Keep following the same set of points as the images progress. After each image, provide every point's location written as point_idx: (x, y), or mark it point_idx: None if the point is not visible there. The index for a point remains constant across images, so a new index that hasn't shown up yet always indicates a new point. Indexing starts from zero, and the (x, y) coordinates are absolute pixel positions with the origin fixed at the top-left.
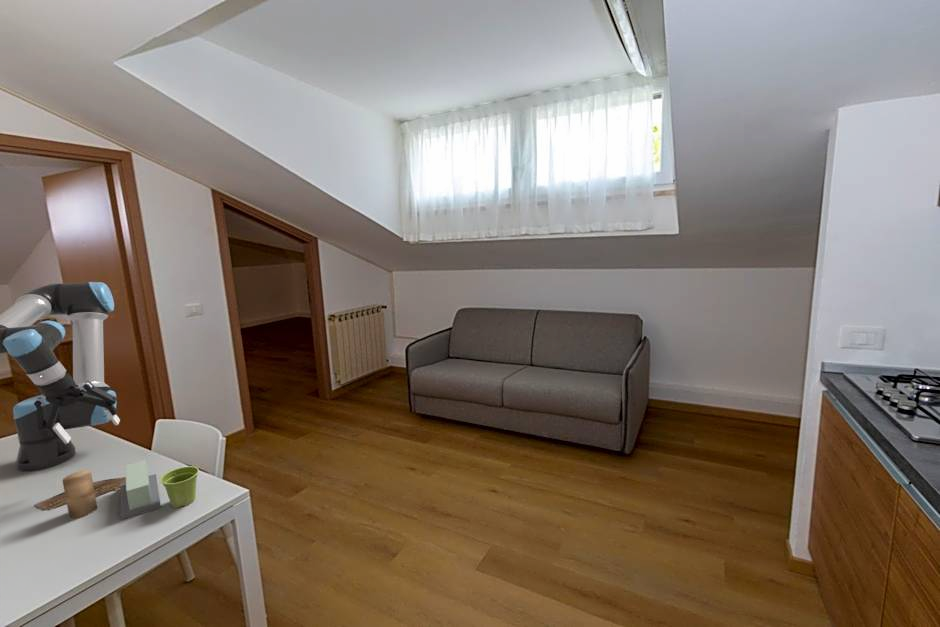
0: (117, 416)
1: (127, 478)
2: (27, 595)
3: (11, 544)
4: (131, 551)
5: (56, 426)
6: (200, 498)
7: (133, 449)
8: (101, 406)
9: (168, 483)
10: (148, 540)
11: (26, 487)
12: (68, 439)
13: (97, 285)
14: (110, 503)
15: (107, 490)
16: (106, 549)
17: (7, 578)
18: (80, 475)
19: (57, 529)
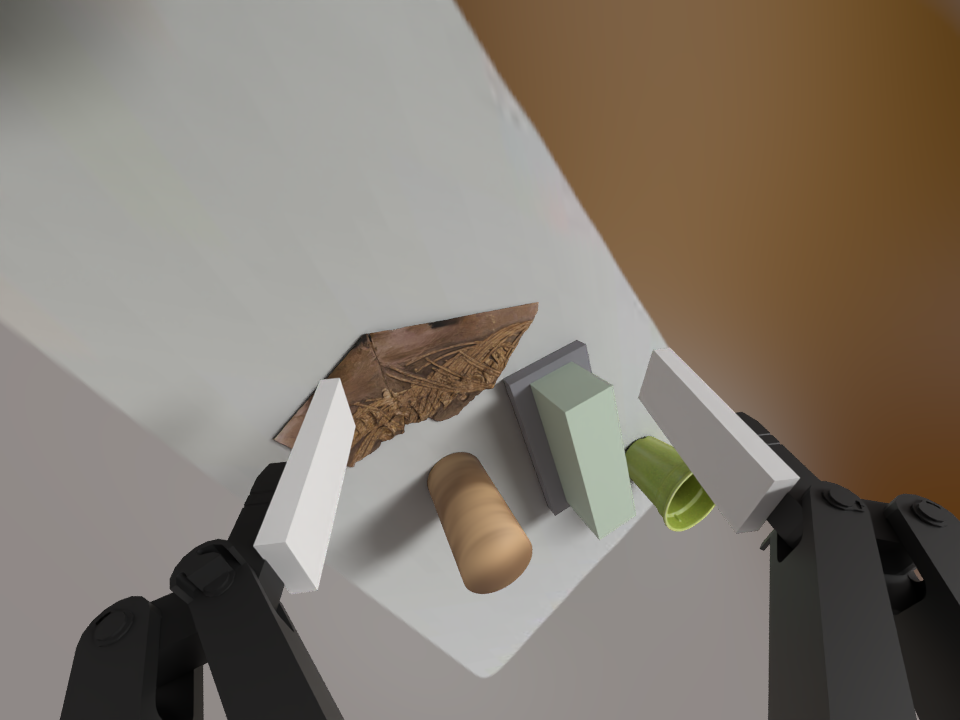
0: (691, 370)
1: (588, 489)
2: (485, 654)
3: (361, 581)
4: (585, 574)
5: (309, 571)
6: None
7: None
8: (774, 580)
9: (678, 530)
10: (602, 552)
11: (70, 284)
12: (346, 415)
13: None
14: (504, 448)
15: (472, 390)
16: (551, 574)
17: (431, 641)
18: (506, 558)
19: (433, 535)
